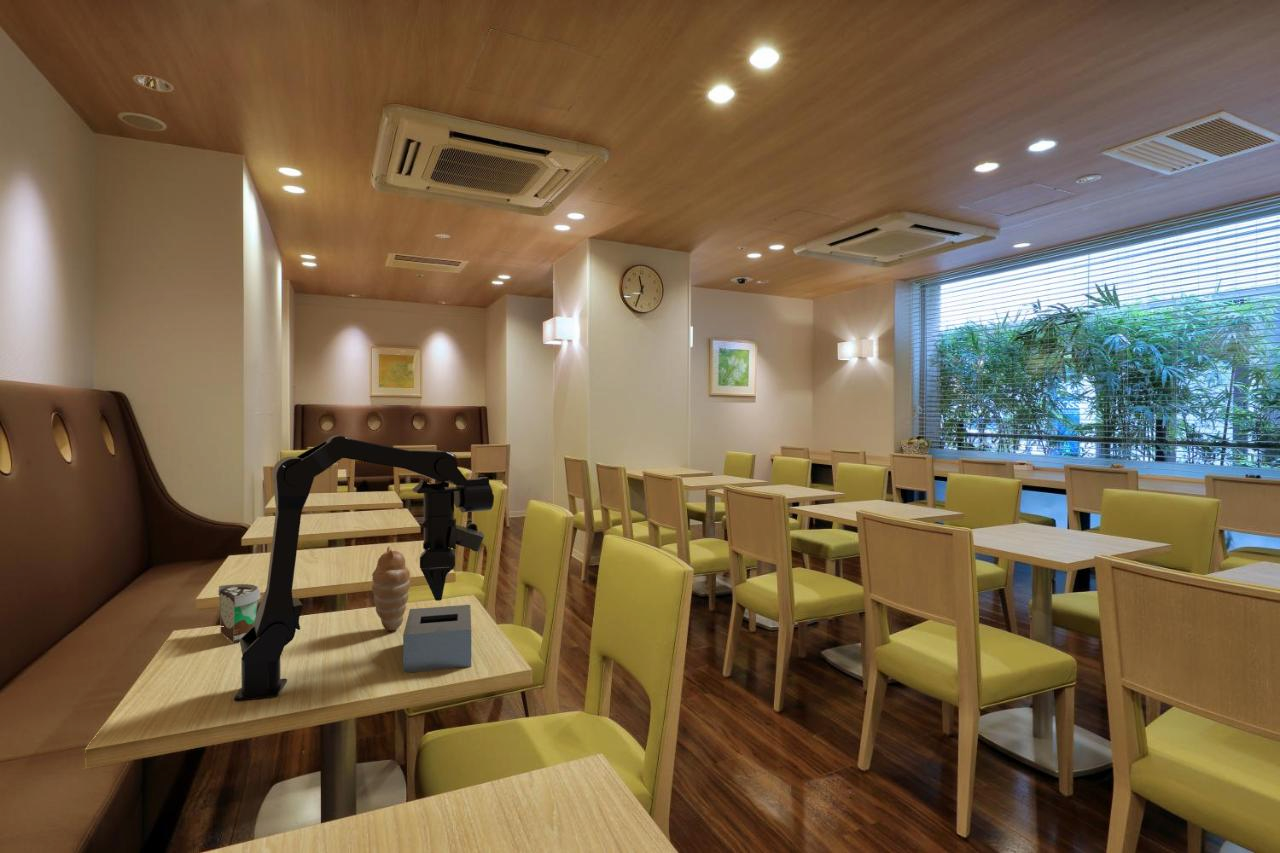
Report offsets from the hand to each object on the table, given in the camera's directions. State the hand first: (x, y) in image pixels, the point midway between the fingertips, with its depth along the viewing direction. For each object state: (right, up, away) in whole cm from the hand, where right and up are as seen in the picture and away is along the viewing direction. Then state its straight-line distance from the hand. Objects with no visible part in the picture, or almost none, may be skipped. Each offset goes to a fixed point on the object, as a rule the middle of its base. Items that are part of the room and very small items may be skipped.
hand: (439, 593), depth 125 cm
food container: (-45, -12, +10) cm, 48 cm away
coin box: (0, -12, 0) cm, 12 cm away
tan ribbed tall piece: (-15, -12, +14) cm, 23 cm away
